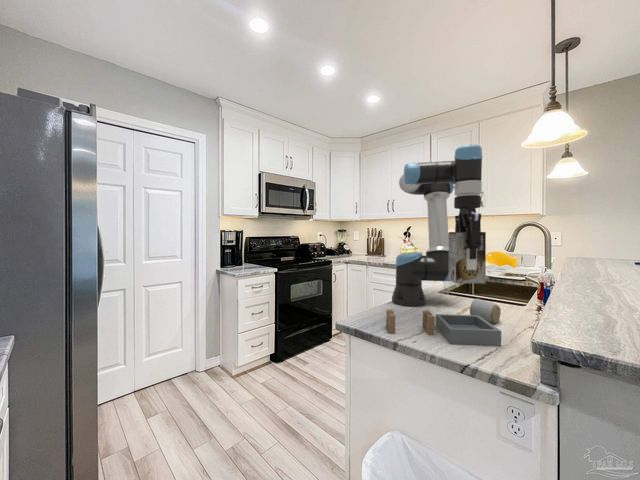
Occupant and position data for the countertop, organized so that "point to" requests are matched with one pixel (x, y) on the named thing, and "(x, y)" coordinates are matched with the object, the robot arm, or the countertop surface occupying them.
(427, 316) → the wooden blocks
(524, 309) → the countertop surface
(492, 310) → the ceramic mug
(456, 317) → the tray
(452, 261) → the coffee box
